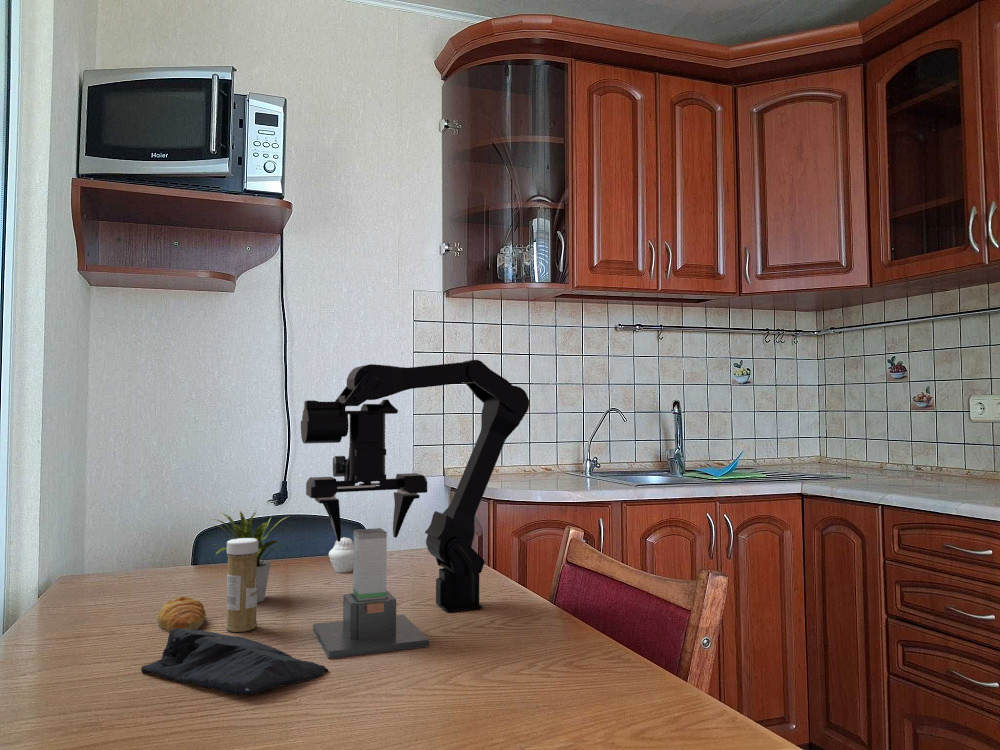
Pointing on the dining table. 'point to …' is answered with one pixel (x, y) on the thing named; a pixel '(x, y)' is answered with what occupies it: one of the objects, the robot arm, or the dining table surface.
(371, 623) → the stand
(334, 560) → the muffin
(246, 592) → the sprinkles bottle
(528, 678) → the dining table surface
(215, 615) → the dining table surface
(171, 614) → the pastry
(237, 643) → the dark slate chunk
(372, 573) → the column
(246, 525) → the house plant
